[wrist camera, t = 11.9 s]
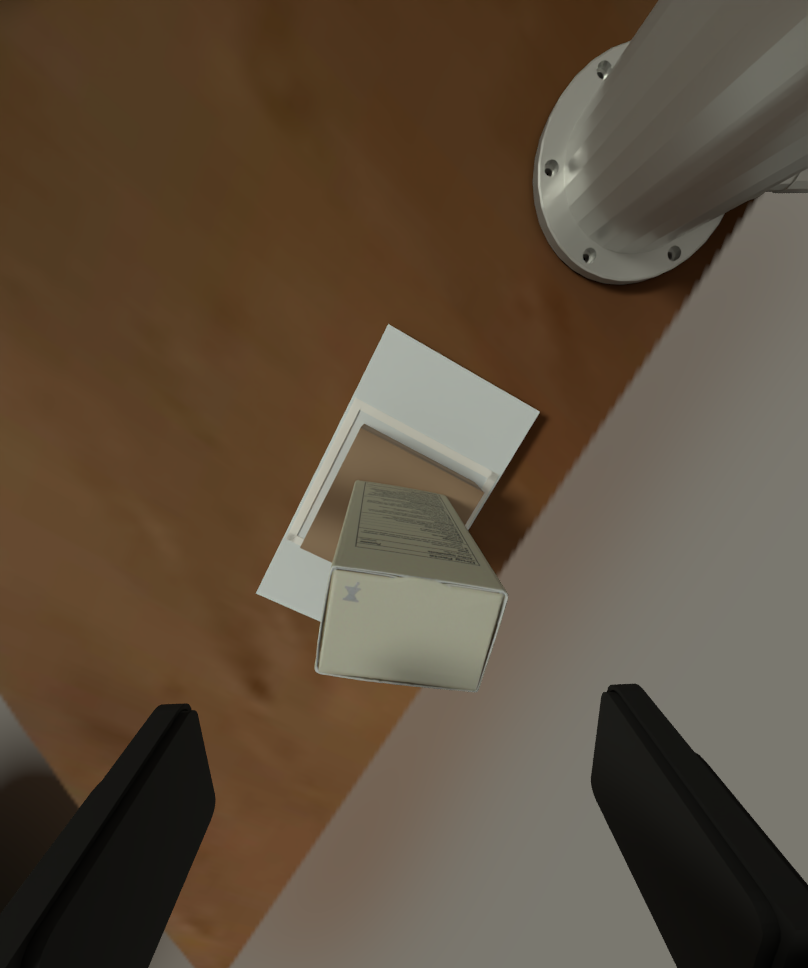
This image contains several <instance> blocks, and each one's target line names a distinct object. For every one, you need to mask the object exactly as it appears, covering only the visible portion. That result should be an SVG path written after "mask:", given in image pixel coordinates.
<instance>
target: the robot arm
mask: <svg viewBox="0 0 808 968" xmlns="http://www.w3.org/2000/svg"><path fill="white" fill-rule="evenodd" d="M545 172H546V173H548V174H549V176H547V174H546V173H545ZM533 192H534V204H535V208H536V212H537V216H538V220H539V224H540V226H541V228H542V231H543V233H544V235H545V237H546V239H547V241H548V243H549V244H550V246H551V247H552V249H553V250H554V251H555V253H556V254H557V256H558V257H559V258H560V259H561V260H562V261H563V262H564V263H565V264H567V265H568V266H569V267H570V268H571V269H572V270H574V271H576V272H577V273H579V274H581V275H582V276H584V277H586V278H588V279H591V280H594V281H598V282H601V283H605V284H617V285H623V284H631V283H639V282H642V281H645V280H647V279H650V278H653V277H656V276H658V275H660V274H662V273H665V272H667V271H669V270H671V269H673V268H675V267H676V266H678V265H679V264H681V263H682V262H683V261H685V260H686V259H688V258H689V257H691V256H692V255H693V254H694V253H695V252H696V251H697V250H698V249H699V248H700V247H701V246H702V245H703V244H704V243H705V242H706V241H707V239H708V238H709V237H710V235H711V234H712V233H713V231H714V230H715V229H716V227H717V226H718V225H719V223H720V221H721V219H722V218H723V216H724V214H725V213H726V212H728V211H730V210H731V209H733V208H735V207H737V206H739V205H741V204H743V203H744V202H746V201H748V200H752V199H755V198H758V197H759V196H760V195H762V194H763V193H764V192H773V193H808V0H659V1H658V2H657V4H656V5H655V7H654V8H653V9H652V11H651V12H650V14H649V15H648V17H647V18H646V20H645V21H644V23H643V24H642V26H641V27H640V28H639V30H638V31H637V33H636V34H635V36H634V37H633V39H632V40H631V41H629V42H626V43H623V44H621V45H618V46H615V47H613V48H611V49H609V50H608V51H606V52H604V53H603V54H601V55H600V56H598V57H597V58H595V59H593V60H592V61H591V62H590V63H589V64H588V65H587V66H586V67H585V68H584V69H583V70H581V71H580V72H579V73H578V74H577V75H576V76H575V77H574V79H573V80H572V81H571V83H570V84H569V85H568V87H567V88H566V89H565V91H564V92H563V93H562V95H561V96H560V98H559V100H558V102H557V103H556V105H555V107H554V109H553V110H552V112H551V114H550V115H549V118H548V120H547V123H546V125H545V127H544V130H543V132H542V134H541V137H540V140H539V144H538V148H537V152H536V156H535V162H534V174H533ZM583 256H584V257H585V258H586V262H585V261H584V260H583ZM591 785H592V790H593V793H594V796H595V799H596V801H597V803H598V805H599V807H600V809H601V811H602V813H603V815H604V818H605V820H606V822H607V824H608V826H609V828H610V830H611V832H612V834H613V836H614V838H615V840H616V842H617V844H618V846H619V848H620V851H621V852H622V855H623V856H624V859H625V861H626V863H627V865H628V867H629V869H630V871H631V873H632V875H633V877H634V879H635V881H636V884H637V886H638V888H639V890H640V892H641V894H642V896H643V898H644V900H645V902H646V904H647V906H648V908H649V910H650V912H651V914H652V916H653V919H654V921H655V922H656V925H657V927H658V929H659V931H660V933H661V935H662V937H663V939H664V941H665V943H666V945H667V948H668V949H669V952H670V954H671V956H672V958H673V960H674V962H675V964H676V966H677V968H808V885H807V883H806V882H805V881H804V880H803V879H802V877H801V876H800V875H799V874H798V872H797V871H796V870H795V869H794V868H793V867H792V865H791V864H790V863H789V862H788V860H787V859H786V858H785V857H784V856H783V855H782V853H781V852H780V851H779V850H778V848H777V847H776V846H775V845H774V843H773V842H772V841H771V840H770V839H769V838H768V836H767V835H766V834H765V833H764V831H763V830H762V829H761V828H760V827H759V825H758V824H757V823H756V822H755V821H754V819H753V818H752V817H751V816H750V814H749V813H748V812H747V811H746V810H745V808H744V807H743V806H742V805H741V804H740V802H739V801H738V800H737V799H736V797H735V796H734V795H733V794H732V793H731V791H730V790H729V789H728V788H727V787H726V785H725V784H724V783H723V782H722V781H721V779H720V778H719V777H718V776H717V774H716V773H715V772H714V771H713V770H712V769H711V767H710V766H709V765H708V764H707V763H706V762H705V761H704V759H703V758H701V756H700V755H698V754H697V753H695V752H694V751H693V750H692V749H691V747H690V746H689V745H688V744H687V743H686V742H685V740H684V739H683V738H682V736H681V735H680V734H679V733H678V731H677V730H676V729H675V728H674V727H673V726H672V724H671V723H670V722H669V721H668V720H667V718H666V717H665V716H664V714H663V713H662V712H661V711H660V710H659V708H658V707H657V706H656V705H655V703H654V702H653V701H652V700H651V698H650V697H649V696H648V695H647V694H646V692H645V691H644V690H643V689H642V688H641V687H640V686H639V685H637V684H622V685H621V684H618V685H610V686H609V687H608V690H607V692H603V694H602V696H601V704H600V711H599V719H598V727H597V735H596V742H595V750H594V758H593V766H592V774H591ZM214 808H215V793H214V788H213V783H212V779H211V774H210V769H209V765H208V760H207V755H206V751H205V746H204V741H203V737H202V732H201V727H200V723H199V718H198V714H197V712H196V711H195V710H191V707H190V705H189V704H164V705H160V706H158V707H157V708H156V709H155V710H154V711H153V713H152V714H151V715H150V717H149V718H148V719H147V721H146V722H145V723H144V725H143V726H142V727H141V729H140V730H139V731H138V733H137V734H136V735H135V737H134V738H133V740H132V741H131V742H130V744H129V745H128V746H127V748H126V749H125V750H124V752H123V753H122V754H121V756H120V757H119V758H118V760H117V761H116V762H115V764H114V765H113V766H112V768H111V769H110V771H109V772H108V773H107V775H106V776H105V777H104V779H103V780H102V781H101V782H100V783H99V784H98V785H97V786H96V787H95V789H94V790H93V791H92V792H91V793H90V795H89V796H88V797H87V799H86V800H85V801H84V803H83V804H82V805H81V807H80V808H79V809H78V811H77V812H76V814H75V815H74V816H73V817H72V819H71V820H70V821H69V823H68V824H67V825H66V827H65V828H64V829H63V831H62V832H61V833H60V835H59V836H58V837H57V839H56V840H55V842H54V843H53V844H52V846H51V847H50V848H49V850H48V851H47V852H46V853H45V855H44V856H43V858H42V859H41V860H40V862H39V863H38V864H37V866H36V867H35V868H34V870H33V871H32V872H31V874H30V875H29V876H28V878H27V879H26V880H25V882H24V883H23V884H22V886H21V887H20V888H19V890H18V891H17V893H16V894H15V895H14V896H13V898H12V899H11V900H10V902H9V903H8V904H7V906H6V907H5V908H4V910H3V911H2V912H1V914H0V968H148V967H149V965H150V962H151V960H152V957H153V955H154V953H155V950H156V948H157V946H158V943H159V941H160V938H161V936H162V934H163V932H164V929H165V927H166V924H167V922H168V920H169V917H170V915H171V913H172V910H173V908H174V906H175V903H176V901H177V899H178V896H179V894H180V891H181V889H182V887H183V884H184V882H185V880H186V877H187V875H188V873H189V870H190V868H191V866H192V863H193V861H194V858H195V856H196V854H197V851H198V849H199V847H200V844H201V842H202V840H203V837H204V835H205V833H206V830H207V828H208V825H209V823H210V821H211V818H212V815H213V812H214Z"/></svg>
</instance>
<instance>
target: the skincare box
mask: <svg viewBox="0 0 808 968" xmlns="http://www.w3.org/2000/svg"><path fill="white" fill-rule="evenodd" d="M507 600H508V593H507V592H506V590H505V589H504V587H503V585H502V584H501V582H500V581H499V579H498V578H497V576H496V574H495V573H494V571H493V570H492V568H491V567H490V565H489V563H488V562H487V560H486V558H485V557H484V555H483V554H482V552H481V550H480V549H479V547H478V546H477V544H476V542H475V541H474V539H473V538H472V536H471V535H470V533H469V531H468V530H467V528H466V527H465V525H464V523H463V522H462V520H461V519H460V517H459V515H458V514H457V512H456V511H455V509H454V508H453V506H452V504H451V503H450V501H449V500H448V498H447V497H446V496H445V495H441V494H437V493H432V492H427V491H422V490H417V489H411V488H405V487H399V486H393V485H387V484H381V483H374V482H366V481H360V480H357V481H355V484H354V487H353V491H352V494H351V498H350V501H349V505H348V508H347V512H346V516H345V519H344V523H343V527H342V530H341V534H340V537H339V541H338V544H337V548H336V552H335V555H334V558H333V562H332V565H331V569H330V574H329V579H328V584H327V589H326V594H325V600H324V606H323V611H322V617H321V623H320V629H319V636H318V643H317V651H316V661H315V671H316V672H317V673H319V674H324V675H331V676H335V677H343V678H349V679H356V680H365V681H371V682H379V683H388V684H396V685H406V686H415V687H424V688H434V689H446V690H458V691H468V692H477V691H478V690H479V687H480V684H481V681H482V678H483V675H484V672H485V670H486V667H487V664H488V660H489V658H490V655H491V652H492V649H493V646H494V642H495V639H496V636H497V633H498V630H499V627H500V624H501V621H502V617H503V614H504V610H505V607H506V604H507Z"/></svg>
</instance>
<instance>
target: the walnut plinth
mask: <svg viewBox="0 0 808 968" xmlns="http://www.w3.org/2000/svg"><path fill="white" fill-rule="evenodd" d="M357 480H360V481H366V482H374V483H381V484H387V485H393V486H399V487H405V488H411V489H417V490H422V491H427V492H432V493H437V494H441V495H445V496H446V497H447V498H448V500H449V501H450V503H451V504H452V506H453V508H454V509H455V511H456V512H457V514H458V515H459V517H460V519H461V520H462V522H463V523H464V525H465V524H466V523H467V521H468V519H469V518H470V516H471V514H472V513H473V511H474V509H475V508H476V506H477V505H478V503H479V501H480V500H481V498H482V496H483V495H484V492H483V491H482V489H481V488H480V487H479V486H478V485H477V484H476V483H475V482H474V481H472V480H470V479H468V478H466V477H464V476H462V475H460V474H459V473H457V472H455V471H453V470H451V469H449V468H447V467H445V466H443V465H442V464H440V463H438V462H436V461H434V460H432V459H430V458H428V457H426V456H425V455H423V454H421V453H419V452H417V451H415V450H413V449H411V448H409V447H408V446H406V445H404V444H402V443H400V442H398V441H396V440H394V439H392V438H391V437H389V436H387V435H385V434H383V433H381V432H379V431H377V430H375V429H374V428H372V427H370V426H368V425H366V424H363V425H362V426H361V428H360V430H359V432H358V434H357V436H356V438H355V440H354V442H353V444H352V446H351V448H350V450H349V452H348V454H347V455H346V457H345V459H344V461H343V463H342V465H341V467H340V469H339V471H338V473H337V475H336V477H335V479H334V481H333V483H332V485H331V487H330V489H329V491H328V493H327V495H326V497H325V499H324V501H323V503H322V505H321V507H320V509H319V511H318V513H317V515H316V517H315V519H314V521H313V523H312V525H311V527H310V529H309V531H308V533H307V535H306V537H305V539H304V541H303V543H302V545H301V547H300V548H301V549H303V550H306V551H308V552H310V553H312V554H314V555H316V556H318V557H321V558H323V559H325V560H327V561H329V562H331V563H332V562H333V558H334V555H335V552H336V548H337V544H338V541H339V537H340V534H341V530H342V527H343V523H344V519H345V516H346V512H347V508H348V505H349V501H350V498H351V494H352V491H353V487H354V484H355V481H357Z"/></svg>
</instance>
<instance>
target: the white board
mask: <svg viewBox="0 0 808 968" xmlns="http://www.w3.org/2000/svg"><path fill="white" fill-rule="evenodd" d="M539 413H540V412H539V411H538V410H536V409H534V408H532V407H531V406H529V405H527V404H525V403H524V402H522V401H520V400H518V399H517V398H515V397H513V396H512V395H510V394H508V393H506V392H505V391H503V390H501V389H499V388H498V387H496V386H494V385H493V384H491V383H489V382H487V381H486V380H484V379H482V378H480V377H479V376H477V375H475V374H473V373H472V372H470V371H468V370H467V369H465V368H463V367H461V366H460V365H458V364H456V363H454V362H453V361H451V360H449V359H448V358H446V357H444V356H442V355H441V354H439V353H437V352H435V351H434V350H432V349H430V348H429V347H427V346H425V345H423V344H422V343H420V342H418V341H416V340H415V339H413V338H411V337H409V336H408V335H406V334H404V333H403V332H401V331H399V330H397V329H396V328H394V327H392V326H390V325H389V324H388V326H387V328H386V330H385V332H384V334H383V336H382V338H381V340H380V342H379V344H378V346H377V348H376V350H375V352H374V354H373V356H372V358H371V360H370V362H369V364H368V367H367V369H366V371H365V373H364V375H363V377H362V379H361V381H360V383H359V385H358V387H357V389H356V391H355V393H354V395H353V397H352V399H351V401H350V403H349V405H348V407H347V409H346V411H345V413H344V415H343V417H342V419H341V421H340V423H339V425H338V428H337V430H336V432H335V434H334V436H333V438H332V440H331V442H330V444H329V446H328V448H327V450H326V452H325V454H324V456H323V458H322V460H321V462H320V464H319V466H318V468H317V470H316V472H315V474H314V476H313V478H312V480H311V482H310V484H309V486H308V489H307V491H306V493H305V495H304V497H303V499H302V501H301V503H300V505H299V507H298V509H297V511H296V513H295V515H294V517H293V519H292V521H291V523H290V525H289V527H288V529H287V531H286V533H285V535H284V537H283V539H282V541H281V543H280V545H279V547H278V550H277V552H276V554H275V556H274V558H273V560H272V562H271V564H270V566H269V568H268V570H267V572H266V574H265V576H264V578H263V580H262V582H261V584H260V586H259V588H258V590H257V592H256V594H259V595H261V596H263V597H265V598H268V599H270V600H272V601H275V602H277V603H279V604H281V605H284V606H286V607H288V608H291V609H293V610H295V611H297V612H300V613H302V614H304V615H307V616H309V617H311V618H313V619H316V620H318V621H320V622H321V617H322V611H323V606H324V600H325V594H326V589H327V584H328V579H329V574H330V569H331V565H332V563H331V562H329V561H327V560H325V559H323V558H321V557H318V556H316V555H314V554H312V553H310V552H308V551H306V550H303V549H301V548H300V547H301V545H302V543H303V541H304V539H305V537H306V535H307V533H308V531H309V529H310V527H311V525H312V523H313V521H314V519H315V517H316V515H317V513H318V511H319V509H320V507H321V505H322V503H323V501H324V499H325V497H326V495H327V493H328V491H329V489H330V487H331V485H332V483H333V481H334V479H335V477H336V475H337V473H338V471H339V469H340V467H341V465H342V463H343V461H344V459H345V457H346V455H347V454H348V452H349V450H350V448H351V446H352V444H353V442H354V440H355V438H356V436H357V434H358V432H359V430H360V428H361V426H362V425H363V424H366V425H368V426H370V427H372V428H374V429H375V430H377V431H379V432H381V433H383V434H385V435H387V436H389V437H391V438H392V439H394V440H396V441H398V442H400V443H402V444H404V445H406V446H408V447H409V448H411V449H413V450H415V451H417V452H419V453H421V454H423V455H425V456H426V457H428V458H430V459H432V460H434V461H436V462H438V463H440V464H442V465H443V466H445V467H447V468H449V469H451V470H453V471H455V472H457V473H459V474H460V475H462V476H464V477H466V478H468V479H470V480H472V481H474V482H475V483H476V484H477V485H478V486H479V487H480V488H481V489H482V491H483V492H484V495H483V496H482V498H481V500H480V501H479V503H478V505H477V506H476V508H475V509H474V511H473V513H472V514H471V516H470V518H469V519H468V521H467V523H466V524H465V527H466V528H467V530H469V528H470V527H471V525H472V523H473V522H474V520H475V518H476V517H477V515H478V513H479V512H480V510H481V508H482V507H483V505H484V503H485V502H486V500H487V499H488V497H489V495H490V494H491V492H492V490H493V489H494V487H495V485H496V484H497V482H498V480H499V479H500V477H501V475H502V474H503V472H504V470H505V469H506V467H507V466H508V464H509V462H510V461H511V459H512V457H513V456H514V454H515V452H516V451H517V449H518V447H519V446H520V444H521V442H522V441H523V439H524V437H525V436H526V434H527V432H528V431H529V429H530V428H531V426H532V424H533V423H534V421H535V419H536V418H537V416H538V414H539Z"/></svg>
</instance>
